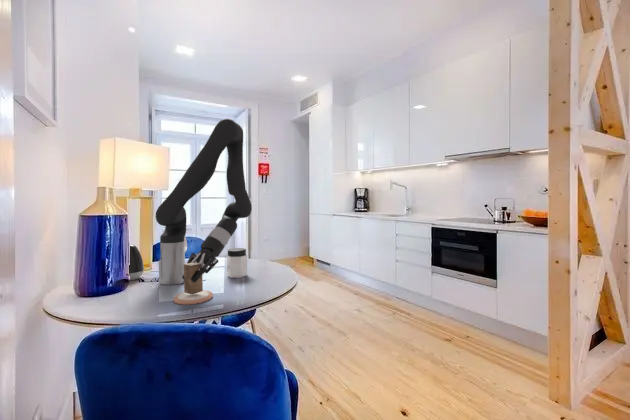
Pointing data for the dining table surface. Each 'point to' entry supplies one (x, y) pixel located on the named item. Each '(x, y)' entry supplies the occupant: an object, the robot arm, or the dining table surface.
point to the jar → (236, 263)
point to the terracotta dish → (192, 297)
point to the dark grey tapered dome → (135, 263)
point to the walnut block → (188, 273)
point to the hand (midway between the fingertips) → (188, 280)
